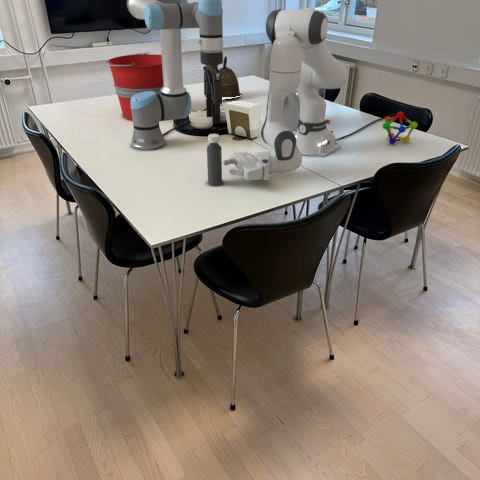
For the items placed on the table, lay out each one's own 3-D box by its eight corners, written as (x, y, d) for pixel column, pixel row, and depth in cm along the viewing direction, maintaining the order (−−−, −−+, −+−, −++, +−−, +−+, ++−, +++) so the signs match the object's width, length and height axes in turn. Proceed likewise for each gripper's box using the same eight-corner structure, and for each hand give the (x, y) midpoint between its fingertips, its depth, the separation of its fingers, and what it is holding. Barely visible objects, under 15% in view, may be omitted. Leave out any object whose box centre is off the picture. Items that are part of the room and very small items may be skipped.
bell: (227, 105, 294) (202, 96, 282) (238, 66, 289) (213, 55, 277) (243, 108, 280) (217, 98, 268) (255, 66, 275) (229, 55, 263)
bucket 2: (296, 138, 215) (301, 78, 201) (255, 124, 234) (256, 68, 219) (335, 125, 232) (342, 70, 217) (294, 113, 251) (297, 61, 236)
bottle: (206, 181, 173) (204, 135, 163) (219, 179, 174) (219, 133, 164) (210, 186, 168) (208, 139, 159) (223, 185, 170) (223, 138, 160)
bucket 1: (122, 105, 263) (114, 51, 248) (180, 106, 263) (177, 52, 247) (105, 123, 234) (95, 63, 218) (171, 124, 233) (166, 64, 217)
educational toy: (377, 146, 209) (379, 114, 202) (384, 138, 219) (386, 107, 211) (411, 149, 202) (415, 116, 195) (417, 141, 212) (420, 109, 204)
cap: (207, 139, 163) (206, 134, 162) (217, 138, 165) (217, 133, 163) (209, 143, 160) (209, 137, 159) (220, 142, 161) (220, 136, 160)
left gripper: (193, 46, 153) (196, 113, 165) (208, 56, 137) (210, 129, 149) (214, 45, 155) (215, 111, 167) (231, 55, 139) (232, 127, 151)
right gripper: (253, 147, 179) (220, 150, 176) (270, 165, 162) (233, 169, 159) (252, 161, 182) (220, 165, 179) (269, 181, 166) (233, 185, 162)
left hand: (213, 119), depth 158 cm, fingers open, 7 cm apart
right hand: (226, 167), depth 169 cm, fingers open, 8 cm apart
